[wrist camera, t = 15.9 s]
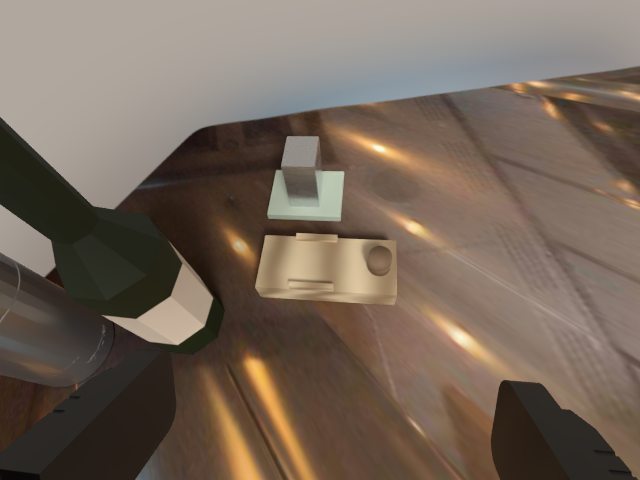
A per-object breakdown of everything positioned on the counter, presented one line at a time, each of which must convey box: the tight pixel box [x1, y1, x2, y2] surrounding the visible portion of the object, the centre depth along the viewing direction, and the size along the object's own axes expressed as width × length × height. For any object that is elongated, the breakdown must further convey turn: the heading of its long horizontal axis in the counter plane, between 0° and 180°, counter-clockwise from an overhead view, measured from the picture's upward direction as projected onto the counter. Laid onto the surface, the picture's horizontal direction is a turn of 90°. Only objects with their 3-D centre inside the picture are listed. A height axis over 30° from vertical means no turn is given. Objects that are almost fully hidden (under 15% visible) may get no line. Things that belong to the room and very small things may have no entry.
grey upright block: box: [281, 136, 323, 207], centre depth 47 cm, size 4×6×8 cm
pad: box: [267, 170, 344, 221], centre depth 50 cm, size 10×8×1 cm
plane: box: [255, 233, 397, 305], centre depth 42 cm, size 16×7×5 cm, turn 85°
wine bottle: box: [0, 118, 224, 355], centre depth 30 cm, size 8×8×30 cm
